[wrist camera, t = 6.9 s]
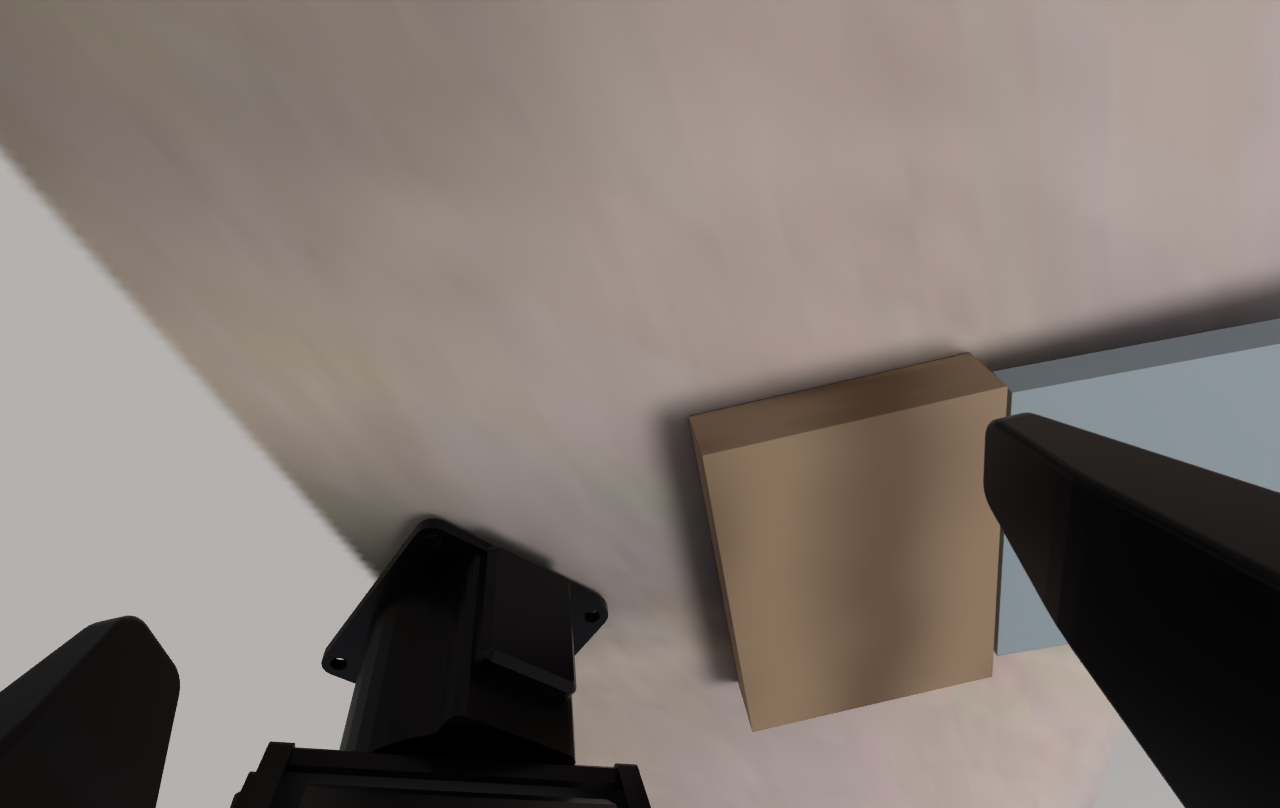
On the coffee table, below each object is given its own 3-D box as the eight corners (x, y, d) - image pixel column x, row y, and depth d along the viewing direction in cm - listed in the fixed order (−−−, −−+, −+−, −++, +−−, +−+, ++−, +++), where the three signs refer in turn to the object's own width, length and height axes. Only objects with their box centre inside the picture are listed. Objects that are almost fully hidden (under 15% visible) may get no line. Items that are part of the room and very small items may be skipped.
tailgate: (997, 655, 26) (1314, 603, 25) (1012, 392, 21) (1409, 319, 20) (974, 615, 27) (1272, 565, 26) (983, 361, 22) (1350, 293, 22)
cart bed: (738, 683, 27) (752, 731, 25) (688, 416, 22) (702, 455, 20) (962, 631, 27) (992, 676, 26) (969, 352, 22) (1007, 385, 20)
